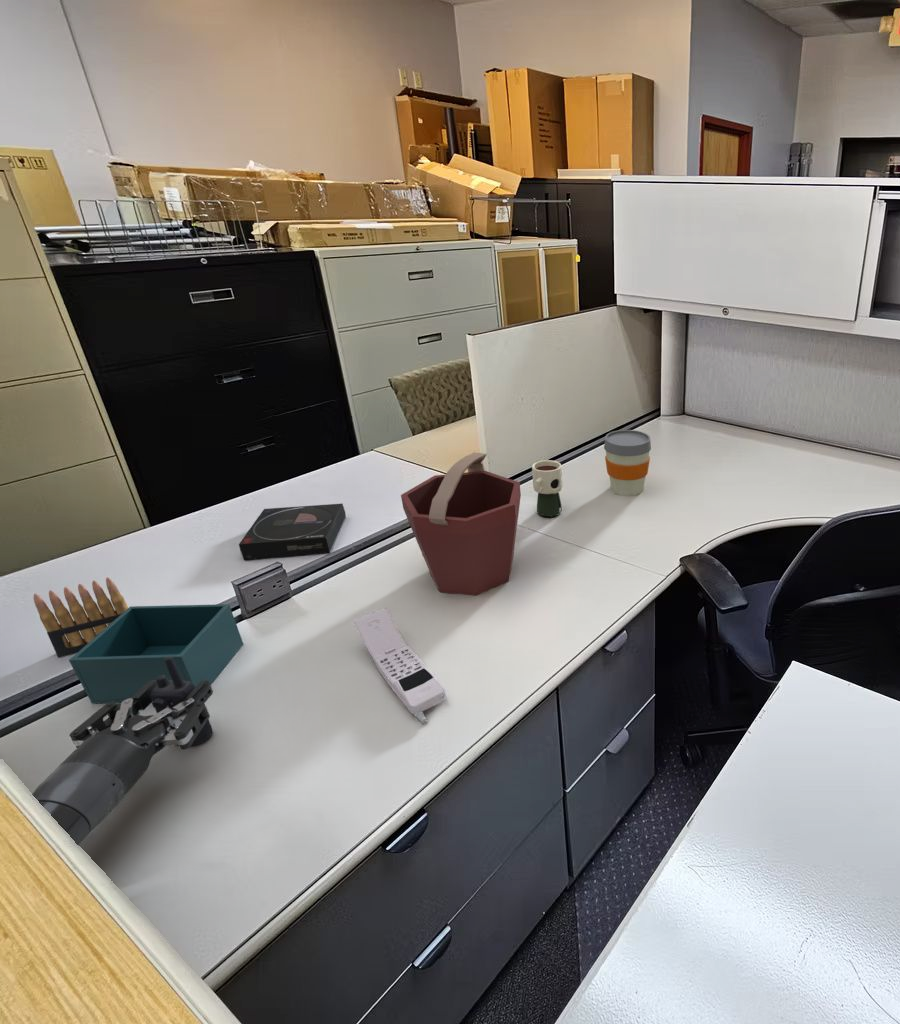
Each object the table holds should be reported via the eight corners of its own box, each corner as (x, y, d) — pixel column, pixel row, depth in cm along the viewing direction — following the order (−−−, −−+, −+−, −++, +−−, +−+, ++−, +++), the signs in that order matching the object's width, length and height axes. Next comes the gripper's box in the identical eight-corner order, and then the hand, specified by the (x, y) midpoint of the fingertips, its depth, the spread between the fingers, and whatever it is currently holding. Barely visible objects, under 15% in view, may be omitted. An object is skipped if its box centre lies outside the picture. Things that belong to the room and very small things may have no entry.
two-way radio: (220, 730, 91) (187, 650, 84) (198, 754, 87) (162, 673, 80) (183, 728, 91) (146, 648, 84) (159, 752, 87) (119, 671, 80)
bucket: (466, 536, 143) (452, 435, 132) (551, 554, 138) (544, 451, 126) (391, 592, 123) (368, 478, 111) (488, 617, 117) (474, 500, 105)
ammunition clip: (140, 629, 109) (115, 573, 104) (140, 635, 108) (114, 578, 103) (59, 651, 104) (27, 592, 98) (58, 657, 102) (25, 598, 97)
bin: (91, 703, 94) (68, 660, 90) (148, 647, 106) (130, 606, 102) (199, 699, 96) (181, 656, 92) (243, 644, 107) (229, 603, 103)
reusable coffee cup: (596, 492, 167) (595, 440, 160) (618, 476, 177) (618, 426, 170) (637, 502, 163) (638, 449, 156) (657, 484, 173) (659, 434, 166)
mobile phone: (385, 605, 109) (450, 679, 94) (392, 632, 112) (455, 708, 96) (350, 620, 105) (411, 699, 90) (357, 647, 108) (418, 728, 93)
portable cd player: (346, 517, 149) (343, 502, 147) (330, 553, 134) (326, 537, 132) (269, 522, 145) (265, 507, 143) (244, 560, 130) (238, 544, 128)
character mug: (552, 525, 150) (549, 476, 144) (526, 519, 152) (522, 471, 146) (571, 506, 159) (570, 459, 153) (547, 501, 161) (544, 455, 155)
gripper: (140, 763, 71) (228, 664, 86) (7, 764, 70) (118, 664, 85) (163, 806, 74) (243, 704, 89) (36, 808, 73) (138, 704, 88)
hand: (182, 685), depth 87 cm, fingers open, 6 cm apart
